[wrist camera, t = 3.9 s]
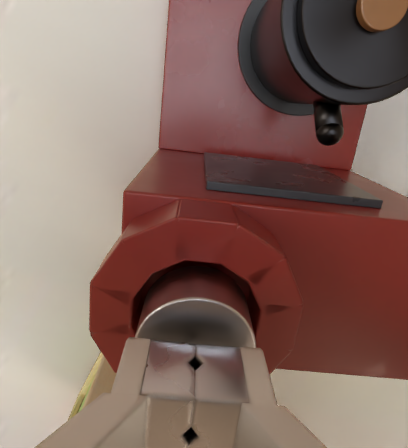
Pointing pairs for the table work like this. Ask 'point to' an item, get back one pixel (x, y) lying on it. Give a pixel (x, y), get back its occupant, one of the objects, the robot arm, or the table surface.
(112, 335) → the coffee maker
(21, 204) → the table surface
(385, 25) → the kettle
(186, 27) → the warming base
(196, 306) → the power button
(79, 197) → the table surface
